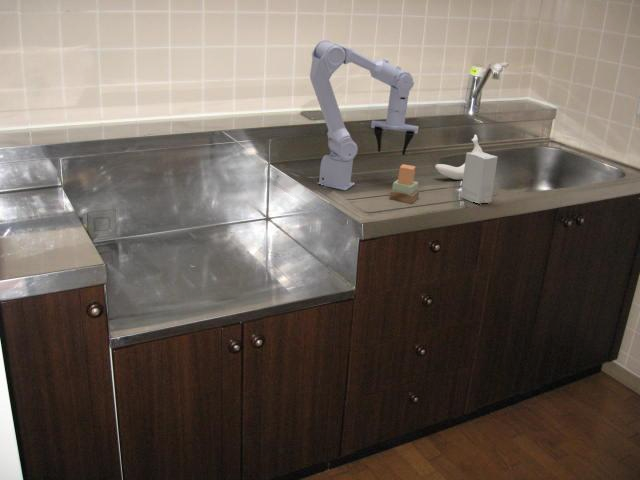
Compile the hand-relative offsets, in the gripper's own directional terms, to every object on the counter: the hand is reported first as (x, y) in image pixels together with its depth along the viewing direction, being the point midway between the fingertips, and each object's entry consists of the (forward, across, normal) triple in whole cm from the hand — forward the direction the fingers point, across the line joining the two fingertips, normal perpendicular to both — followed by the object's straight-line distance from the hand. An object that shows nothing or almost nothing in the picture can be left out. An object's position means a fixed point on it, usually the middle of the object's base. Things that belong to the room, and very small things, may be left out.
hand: (391, 152), depth 223 cm
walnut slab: (+11, +6, -12) cm, 18 cm away
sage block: (+8, +6, -12) cm, 16 cm away
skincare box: (+11, +28, -4) cm, 30 cm away
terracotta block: (+5, +6, -12) cm, 15 cm away
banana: (+11, +23, +17) cm, 30 cm away
